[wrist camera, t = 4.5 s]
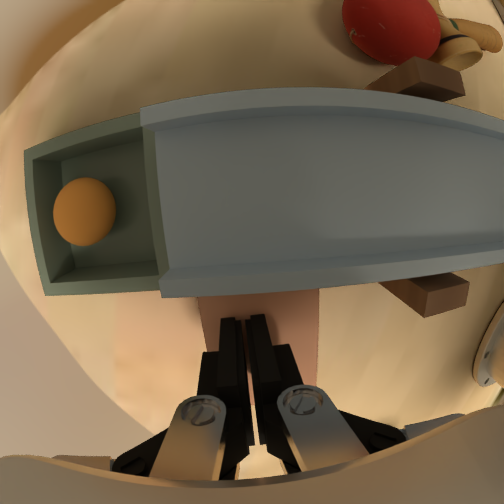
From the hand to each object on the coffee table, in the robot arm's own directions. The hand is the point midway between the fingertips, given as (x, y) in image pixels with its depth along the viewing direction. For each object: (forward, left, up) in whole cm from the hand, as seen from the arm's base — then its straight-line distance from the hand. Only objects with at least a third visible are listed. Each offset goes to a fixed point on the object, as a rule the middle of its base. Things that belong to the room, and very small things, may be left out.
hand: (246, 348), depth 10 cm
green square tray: (+7, -6, -6) cm, 11 cm away
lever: (-8, -3, -1) cm, 8 cm away
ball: (+8, -6, -4) cm, 10 cm away
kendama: (-16, -18, -6) cm, 25 cm away
